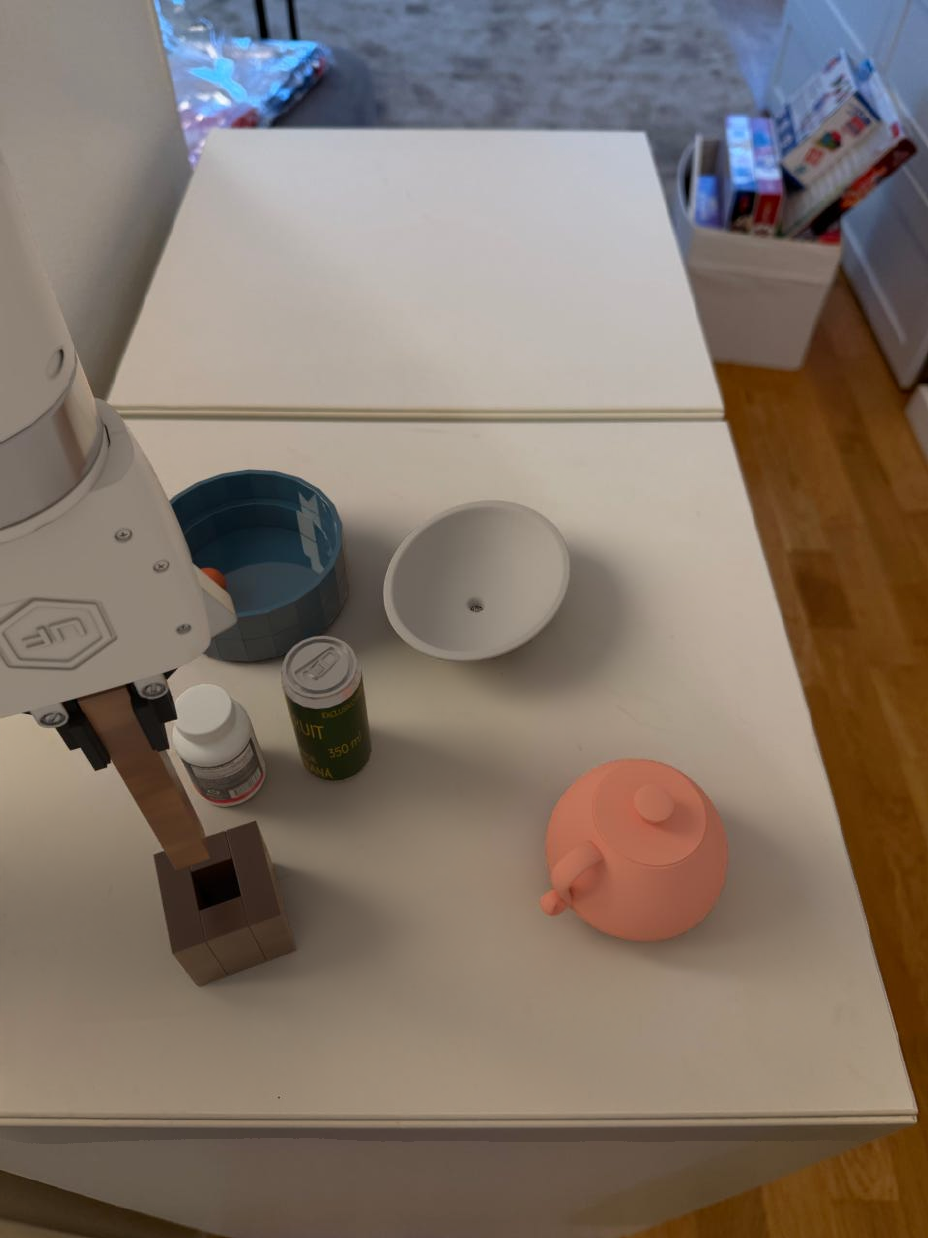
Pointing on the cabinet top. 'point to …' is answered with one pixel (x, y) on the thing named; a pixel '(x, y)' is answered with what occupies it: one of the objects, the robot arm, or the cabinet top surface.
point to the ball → (215, 576)
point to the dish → (477, 580)
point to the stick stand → (225, 907)
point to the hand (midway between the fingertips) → (127, 732)
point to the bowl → (267, 557)
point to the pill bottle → (217, 745)
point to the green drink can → (327, 707)
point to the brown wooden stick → (147, 776)
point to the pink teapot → (635, 851)
